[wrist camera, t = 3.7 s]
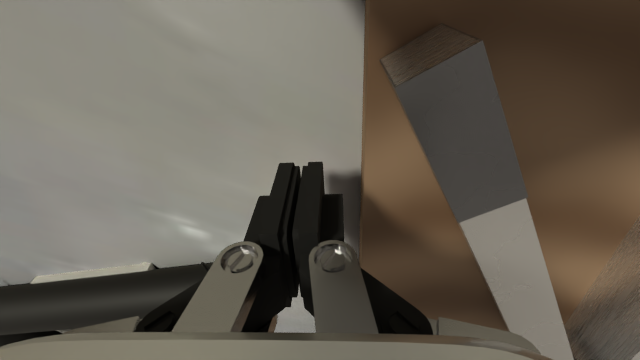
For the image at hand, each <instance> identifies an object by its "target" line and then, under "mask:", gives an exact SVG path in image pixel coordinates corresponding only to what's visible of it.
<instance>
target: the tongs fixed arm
mask: <svg viewBox="0 0 640 360" xmlns="http://www.w3.org/2000/svg"><path fill="white" fill-rule="evenodd" d="M564 328H565V331H566V335H567V338H568V341H569V345H570V348H571V351H572V355H573V358H574V360H640V216H639V217H638V219H637V220H636V221H635V223H634V224H633V226H632V227H631V229H630V230H629V232H628V233H627V235H626V236H625V238H624V239H623V240H622V242H621V243H620V245H619V246H618V248H617V249H616V251H615V252H614V254H613V255H612V257H611V258H610V259H609V261H608V262H607V264H606V265H605V267H604V268H603V270H602V271H601V273H600V274H599V275H598V277H597V278H596V280H595V281H594V283H593V284H592V286H591V287H590V289H589V290H588V292H587V293H586V294H585V296H584V297H583V299H582V300H581V302H580V303H579V305H578V306H577V308H576V309H575V310H574V312H573V313H572V315H571V316H570V318H569V319H568V321H567V322H566V324H565V325H564Z"/></svg>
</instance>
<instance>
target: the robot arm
mask: <svg viewBox="0 0 640 360" xmlns="http://www.w3.org/2000/svg"><path fill="white" fill-rule="evenodd" d="M299 285H300V292H301V297H303V301H304V307H305V309H306V310H307V311H309V312H310V313H311V314H312V315H313V316H314V317H315V327H316V333H274V330H275V327H276V324H277V318H278V316H277V314H278V313H279V312H280V311H282V310H283V309H284V308H285V307H291V301H292V297H297V295H298V287H299ZM0 360H553V359H551V358H549V357H546V356H544V355H541V353H540V351H539V350H538V349H537V348H536V347H535V346H534V345H533V344H532V343H531V342H530V341H528V340H527V339H525V338H524V337H522V336H520V335H518V334H515V333H512V332H508V331H504V330H499V329H494V328H490V327H485V326H480V325H476V324H471V323H466V322H461V321H457V320H452V319H447V318H443V317H438V320H434V319H430V318H427V317H426V316H425V315H424V314H423V313H422V312H421V311H420V310H418V309H417V308H416V307H414V306H413V305H411V304H410V303H409V302H407V301H406V300H405V299H403V298H402V297H400V296H399V295H398V294H396V293H395V292H394V291H392V290H391V289H390V288H388V287H387V286H385V285H384V284H383V283H381V282H380V281H379V280H377V279H376V278H374V277H373V276H372V275H370V274H369V273H368V272H366V271H365V270H363V269H362V268H361V267H360V265H359V261H358V258H357V254H356V252H355V250H354V249H353V248H352V247H351V246H350V245H349V244H347V243H345V242H344V224H343V197H342V194H325V191H324V175H323V162H308V166H303V170H302V176H301V174H300V167H299V166H295V165H294V163H280V164H279V166H278V170H277V173H276V176H275V180H274V183H273V186H272V190H271V193H270V196H260V197H259V198H258V201H257V204H256V207H255V210H254V213H253V215H252V218H251V221H250V224H249V227H248V230H247V233H246V236H245V238H244V241H243V242H238V243H234V244H232V245H230V246H228V247H226V248H225V249H224V250H222V251H221V253H220V254H219V255H218V256H217V258H216V260H215V261H214V263H213V264H212V266H211V268H210V269H209V271H208V273H207V274H206V276H205V277H204V279H202V280H200V281H199V282H197V283H195V284H194V285H192V286H191V287H189V288H187V289H186V290H184V291H183V292H181V293H179V294H178V295H176V296H175V297H173V298H171V299H170V300H168V301H167V302H165V303H163V304H162V305H160V306H159V307H157V308H155V309H154V310H152V311H151V312H150V313H148V314H147V315H146V316H145V317H144V318H143V319H140V318H139V317H138V316H135V317H130V318H126V319H121V320H116V321H111V322H106V323H102V324H97V325H92V326H87V327H82V328H78V329H73V330H70V331H67V332H64V333H62V334H60V335H53V336H46V337H38V338H33V339H28V340H24V341H20V342H15V343H11V344H7V345H4V346H1V347H0Z"/></svg>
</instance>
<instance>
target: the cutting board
mask: <svg viewBox="0 0 640 360" xmlns="http://www.w3.org/2000/svg"><path fill="white" fill-rule="evenodd" d="M441 23H443V24H445V25H448V26H450V27H452V28H455V29H457V30H460V31H462V32H464V33H467V34H469V35H472V36H474V37H476V38H479V39H481V40H483V43H484V46H485V50H486V53H487V56H488V60H489V63H490V67H491V70H492V74H493V77H494V81H495V84H496V87H497V91H498V94H499V98H500V101H501V105H502V108H503V112H504V115H505V118H506V122H507V125H508V129H509V132H510V136H511V139H512V142H513V146H514V149H515V153H516V156H517V160H518V163H519V167H520V170H521V173H522V177H523V180H524V184H525V187H526V191H527V194H528V198H526V199H527V203H528V206H529V210H530V213H531V216H532V220H533V223H534V227H535V230H536V233H537V237H538V240H539V243H540V247H541V250H542V254H543V257H544V260H545V264H546V267H547V270H548V274H549V277H550V281H551V284H552V287H553V291H554V294H555V297H556V301H557V304H558V308H559V311H560V314H561V318H562V321H563V324H564V325H565V324H566V322H567V321H568V319H569V318H570V316H571V315H572V313H573V312H574V310H575V309H576V308H577V306H578V305H579V303H580V302H581V300H582V299H583V297H584V296H585V294H586V293H587V292H588V290H589V289H590V287H591V286H592V284H593V283H594V281H595V280H596V278H597V277H598V275H599V274H600V273H601V271H602V270H603V268H604V267H605V265H606V264H607V262H608V261H609V259H610V258H611V257H612V255H613V254H614V252H615V251H616V249H617V248H618V246H619V245H620V243H621V242H622V240H623V239H624V238H625V236H626V235H627V233H628V232H629V230H630V229H631V227H632V226H633V224H634V223H635V221H636V220H637V219H638V217H639V216H640V0H365V38H364V80H363V122H362V164H361V206H360V248H359V265H360V267H361V268H362V269H363V270H365V271H366V272H368V273H369V274H370V275H372V276H373V277H374V278H376V279H377V280H379V281H380V282H381V283H383V284H384V285H385V286H387V287H388V288H390V289H391V290H392V291H394V292H395V293H396V294H398V295H399V296H400V297H402V298H403V299H405V300H406V301H407V302H409V303H410V304H411V305H413V306H414V307H416V308H417V309H418V310H420V311H421V312H422V313H423V314H424V315H425V316H426V317H427V318H430V319H434V320H438V317H443V318H447V319H452V320H457V321H461V322H466V323H471V324H476V325H480V326H485V327H490V328H494V329H499V330H504V331H508V329H507V327H506V325H505V323H504V321H503V319H502V317H501V314H500V312H499V310H498V308H497V306H496V304H495V302H494V299H493V297H492V295H491V293H490V291H489V289H488V287H487V285H486V282H485V280H484V278H483V276H482V274H481V272H480V270H479V268H478V265H477V263H476V261H475V259H474V257H473V255H472V253H471V251H470V248H469V246H468V244H467V242H466V240H465V238H464V236H463V233H462V231H461V229H460V227H459V225H458V223H457V221H456V219H455V216H454V214H453V212H452V210H451V208H450V206H449V204H448V202H447V201H446V199H445V197H444V195H443V193H442V191H441V189H440V187H439V185H438V183H437V181H436V179H435V177H434V175H433V173H432V171H431V169H430V166H429V164H428V162H427V160H426V158H425V156H424V154H423V152H422V149H421V147H420V145H419V143H418V141H417V139H416V137H415V135H414V133H413V130H412V128H411V126H410V124H409V122H408V120H407V118H406V116H405V114H404V111H403V109H402V107H401V105H400V103H399V101H398V99H397V97H396V94H395V92H394V90H393V88H392V86H391V84H390V82H389V80H388V78H387V75H386V73H385V71H384V69H383V67H382V65H381V63H380V61H379V59H381V58H383V57H385V56H386V55H388V54H390V53H391V52H393V51H395V50H397V49H398V48H400V47H402V46H403V45H405V44H407V43H409V42H410V41H412V40H414V39H415V38H417V37H419V36H420V35H422V34H424V33H426V32H427V31H429V30H431V29H432V28H434V27H436V26H438V25H439V24H441ZM508 332H509V331H508Z"/></svg>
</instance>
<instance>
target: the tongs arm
mask: <svg viewBox="0 0 640 360" xmlns="http://www.w3.org/2000/svg"><path fill="white" fill-rule="evenodd" d="M379 61H380V63H381V65H382V67H383V69H384V71H385V73H386V75H387V78H388V80H389V82H390V84H391V86H392V88H393V90H394V92H395V94H396V97H397V99H398V101H399V103H400V105H401V107H402V109H403V111H404V114H405V116H406V118H407V120H408V122H409V124H410V126H411V128H412V130H413V133H414V135H415V137H416V139H417V141H418V143H419V145H420V147H421V149H422V152H423V154H424V156H425V158H426V160H427V162H428V164H429V166H430V169H431V171H432V173H433V175H434V177H435V179H436V181H437V183H438V185H439V187H440V189H441V191H442V193H443V195H444V197H445V199H446V201H447V202H448V204H449V206H450V208H451V210H452V212H453V214H454V216H455V219H456V221H457V223H458V225H459V227H460V229H461V231H462V233H463V236H464V238H465V240H466V242H467V244H468V246H469V248H470V251H471V253H472V255H473V257H474V259H475V261H476V263H477V265H478V268H479V270H480V272H481V274H482V276H483V278H484V280H485V282H486V285H487V287H488V289H489V291H490V293H491V295H492V297H493V299H494V302H495V304H496V306H497V308H498V310H499V312H500V314H501V317H502V319H503V321H504V323H505V325H506V327H507V329H508V331H509V332H512V333H515V334H518V335H520V336H522V337H524V338H525V339H527V340H528V341H530V342H531V343H532V344H533V345H534V346H535V347H536V348H537V349H538V350H539V351H540V353H541V355H544V356H546V357H549V358H551V359H553V360H574V358H573V355H572V351H571V348H570V345H569V341H568V338H567V335H566V331H565V328H564V324H563V321H562V318H561V314H560V311H559V308H558V304H557V301H556V297H555V294H554V291H553V287H552V284H551V281H550V277H549V274H548V270H547V267H546V264H545V260H544V257H543V254H542V250H541V247H540V243H539V240H538V237H537V233H536V230H535V227H534V223H533V220H532V216H531V213H530V210H529V206H528V203H527V199H526V198H528V194H527V191H526V187H525V184H524V180H523V177H522V173H521V170H520V167H519V163H518V160H517V156H516V153H515V149H514V146H513V142H512V139H511V136H510V132H509V129H508V125H507V122H506V118H505V115H504V112H503V108H502V105H501V101H500V98H499V94H498V91H497V87H496V84H495V81H494V77H493V74H492V70H491V67H490V63H489V60H488V56H487V53H486V50H485V46H484V43H483V40H481V39H479V38H476V37H474V36H472V35H469V34H467V33H464V32H462V31H460V30H457V29H455V28H452V27H450V26H448V25H445V24H443V23H441V24H439V25H438V26H436V27H434V28H432V29H431V30H429V31H427V32H426V33H424V34H422V35H420V36H419V37H417V38H415V39H414V40H412V41H410V42H409V43H407V44H405V45H403V46H402V47H400V48H398V49H397V50H395V51H393V52H391V53H390V54H388V55H386V56H385V57H383V58H381V59H379Z"/></svg>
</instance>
